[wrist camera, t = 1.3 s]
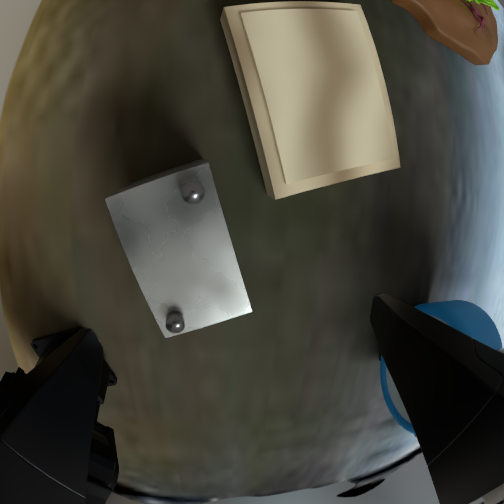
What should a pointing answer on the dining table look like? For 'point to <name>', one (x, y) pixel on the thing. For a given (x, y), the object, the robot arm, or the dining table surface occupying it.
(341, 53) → the beige tray
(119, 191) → the box
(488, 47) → the plant
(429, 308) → the alarm clock
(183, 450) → the dining table surface
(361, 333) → the dining table surface
